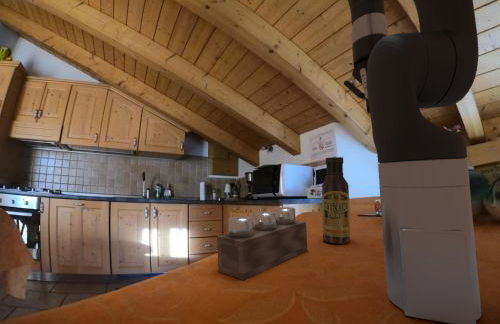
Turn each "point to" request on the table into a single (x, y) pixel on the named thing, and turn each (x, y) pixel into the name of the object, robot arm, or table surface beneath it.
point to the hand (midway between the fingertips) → (374, 114)
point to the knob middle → (265, 221)
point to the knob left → (241, 227)
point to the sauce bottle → (335, 203)
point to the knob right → (285, 215)
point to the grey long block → (260, 250)
